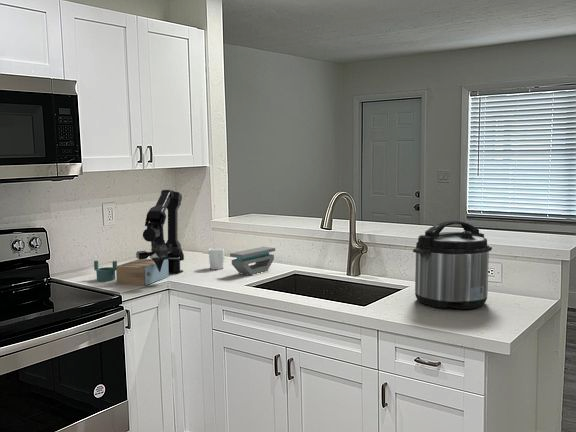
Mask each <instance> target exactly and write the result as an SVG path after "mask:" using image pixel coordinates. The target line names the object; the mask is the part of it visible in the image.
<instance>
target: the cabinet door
mask: <svg viewBox="0 0 576 432" xmlns="http://www.w3.org/2000/svg"><path fill="white" fill-rule="evenodd" d="M144 269H145V286H148V285H150V284H152V283H155V282H157V281H160V280H162V279H165V278H167V277H169V275H170V273H169V270H168V259H166V260H164V261H163V264H162V267H161V271H160V272H159V271H158V269H157V266H156V264H155V263H154V264H151V265H148V266H146V267H144Z"/></svg>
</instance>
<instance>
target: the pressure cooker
mask: <svg viewBox="0 0 576 432" xmlns="http://www.w3.org/2000/svg"><path fill="white" fill-rule="evenodd" d="M452 225H460V226H461V227H462V229H463V231H445V232H444V231H443V229H444V228H445V227H447V226H452ZM442 231H443V232H442ZM492 250H493V247H491V246H489V245H488V239H487V238H486V237H485V233H482V232H480V229H478V228H477V227H476V226H474V225H473V224H471V223H468V222H465V221H461V220H449V221H448V220H447V221H443V222H440V223H437V224H435V225H433V226H431V227H429V228H427V229H426V230H425V231H424V234H421V235H419V236H418V237H417V242H416V246H415V248H413V250H412V252H413V253H415V272H414V273H415V277H414V279H415V282H414V283H415V284H414V292H415V293H414V295H415V298H416V299H417V301H418V302H420V303H422V304H425V305H429V306H432V307H436V308H442V309H446V308H448V307H449V308H453V309H461V310H462V309H463V310H467V309H476V308H480V307H482V306H484V305H485V303H486V302H487V300H488V291H489V290H488V289H489V285H488V284H489V263H490V262H489V261H490V260H489V259H490V255H489V254H490V252H491V251H492Z"/></svg>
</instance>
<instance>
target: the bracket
mask: <svg viewBox="0 0 576 432" xmlns="http://www.w3.org/2000/svg"><path fill="white" fill-rule="evenodd" d="M116 266H118V261H117V260H113V261H112V266H108V267H107V266H106V267H99V260H93V270H94V271H95V272H96V282H101V283H105V282H112V281H115V280H116Z"/></svg>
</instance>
